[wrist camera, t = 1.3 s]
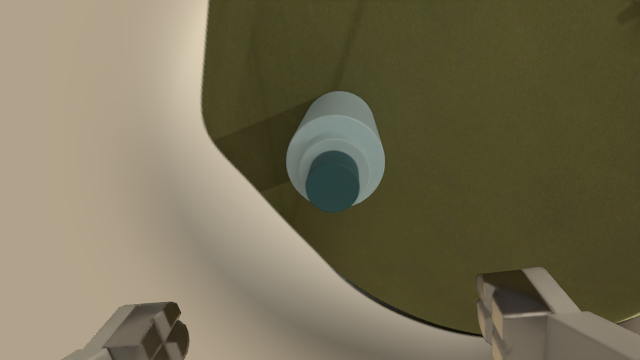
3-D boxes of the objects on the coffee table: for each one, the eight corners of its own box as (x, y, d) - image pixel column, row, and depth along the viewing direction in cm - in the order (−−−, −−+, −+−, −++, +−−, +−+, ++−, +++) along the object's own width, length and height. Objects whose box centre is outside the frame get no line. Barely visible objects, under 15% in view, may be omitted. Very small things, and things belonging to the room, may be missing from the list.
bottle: (298, 97, 28) (262, 140, 17) (369, 85, 27) (385, 121, 16) (310, 164, 30) (287, 245, 19) (378, 155, 29) (397, 232, 18)
